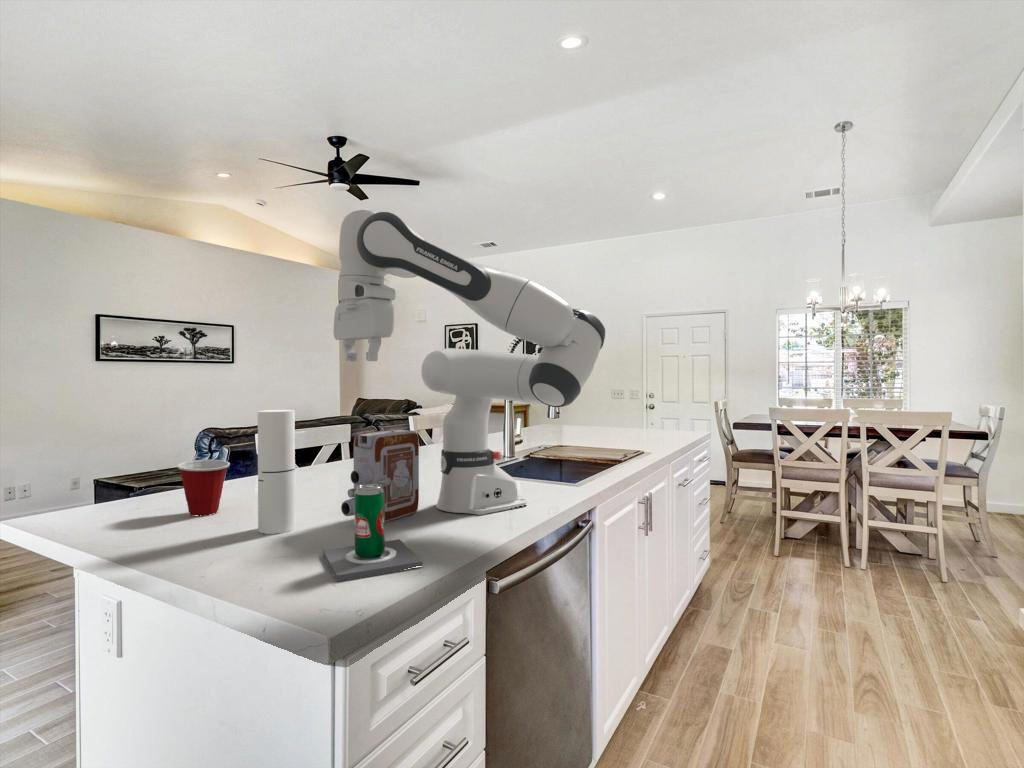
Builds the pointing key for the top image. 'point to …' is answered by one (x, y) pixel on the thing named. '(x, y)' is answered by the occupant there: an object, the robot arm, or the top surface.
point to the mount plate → (370, 561)
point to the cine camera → (387, 470)
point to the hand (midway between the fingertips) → (361, 361)
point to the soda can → (369, 521)
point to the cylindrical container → (276, 471)
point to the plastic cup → (203, 484)
